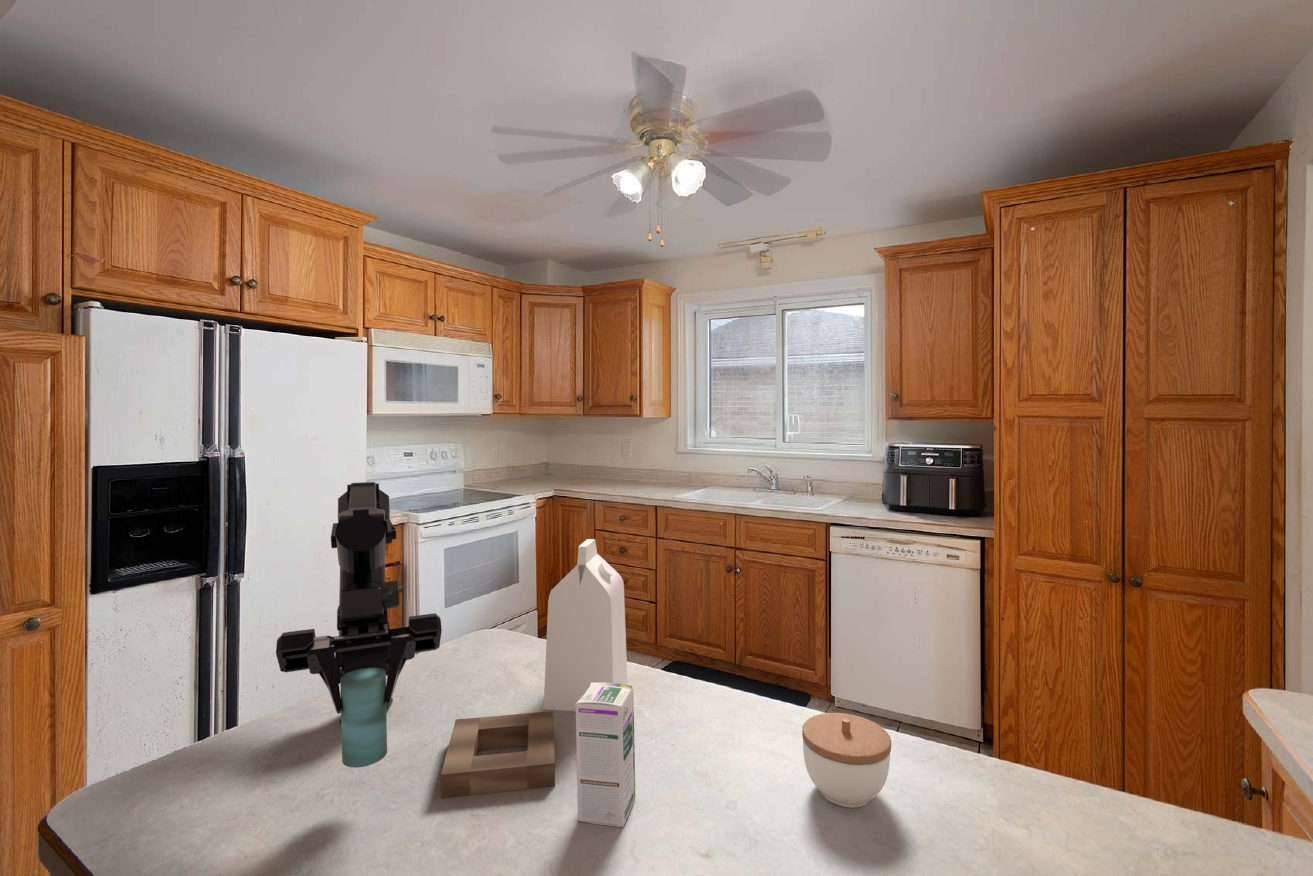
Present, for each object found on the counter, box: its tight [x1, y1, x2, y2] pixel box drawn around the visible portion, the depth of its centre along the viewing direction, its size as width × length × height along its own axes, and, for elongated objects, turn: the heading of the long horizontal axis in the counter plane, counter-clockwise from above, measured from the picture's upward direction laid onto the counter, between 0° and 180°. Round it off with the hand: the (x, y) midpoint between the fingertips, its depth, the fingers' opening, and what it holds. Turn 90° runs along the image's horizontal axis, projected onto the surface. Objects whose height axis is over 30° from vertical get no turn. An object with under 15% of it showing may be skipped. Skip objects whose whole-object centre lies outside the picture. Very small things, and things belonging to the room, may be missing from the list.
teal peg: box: [340, 667, 388, 769], centre depth 76 cm, size 5×5×10 cm
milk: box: [543, 538, 628, 712], centre depth 105 cm, size 12×12×26 cm
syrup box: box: [575, 682, 636, 828], centre depth 75 cm, size 6×6×14 cm
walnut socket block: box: [440, 710, 556, 799], centre depth 85 cm, size 14×14×3 cm
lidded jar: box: [801, 712, 892, 809], centre depth 78 cm, size 11×11×9 cm
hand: (363, 707), depth 75 cm, fingers closed on teal peg, 5 cm apart
